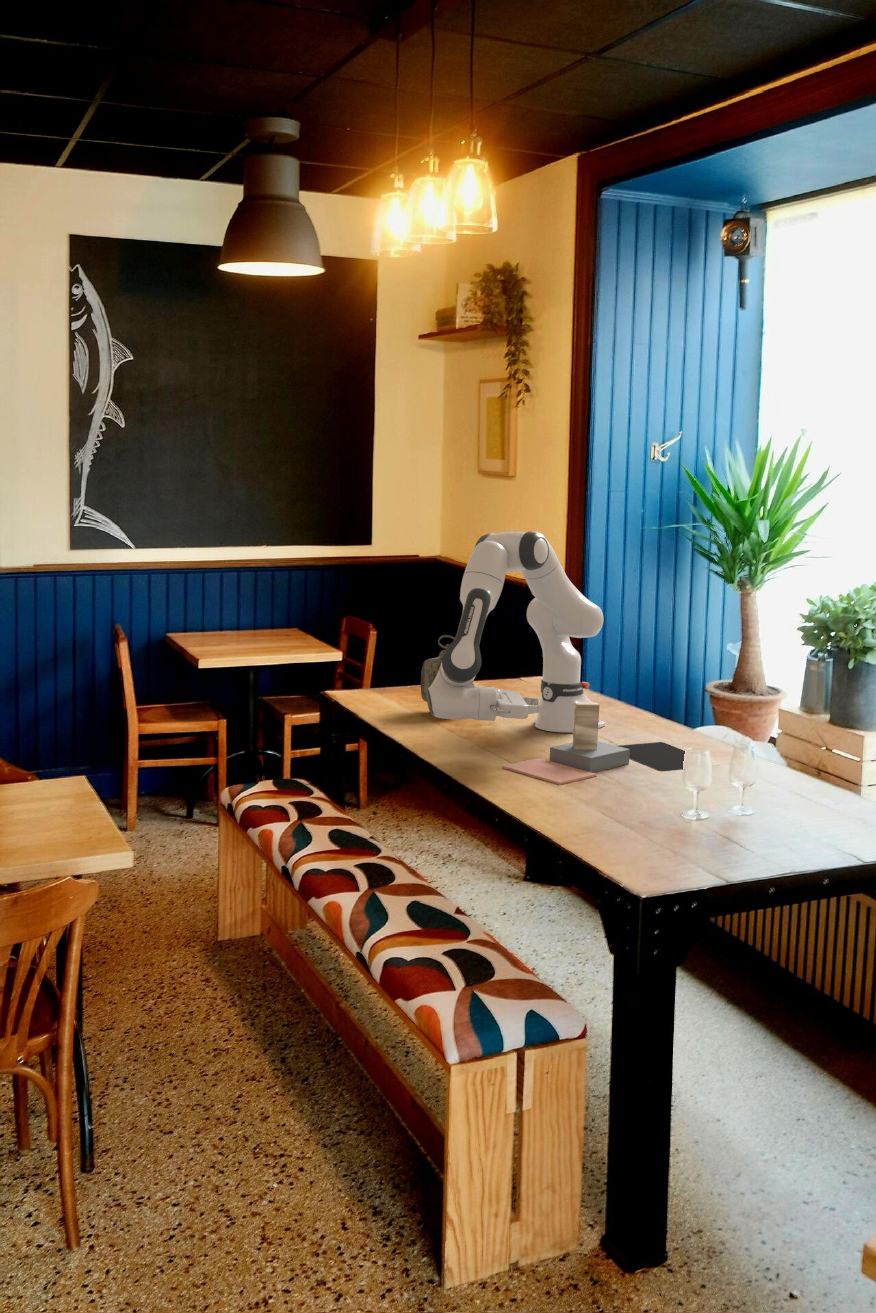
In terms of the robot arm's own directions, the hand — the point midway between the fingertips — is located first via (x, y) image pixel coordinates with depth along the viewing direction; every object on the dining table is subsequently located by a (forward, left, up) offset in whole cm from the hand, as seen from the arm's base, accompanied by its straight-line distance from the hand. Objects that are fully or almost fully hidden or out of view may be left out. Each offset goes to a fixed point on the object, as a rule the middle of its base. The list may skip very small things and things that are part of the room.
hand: (540, 705), depth 323 cm
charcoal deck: (-11, +9, -15) cm, 21 cm away
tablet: (-33, +16, -16) cm, 40 cm away
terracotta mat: (+5, +9, -15) cm, 18 cm away
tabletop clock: (-19, -56, -16) cm, 61 cm away
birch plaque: (-10, +8, -11) cm, 17 cm away
